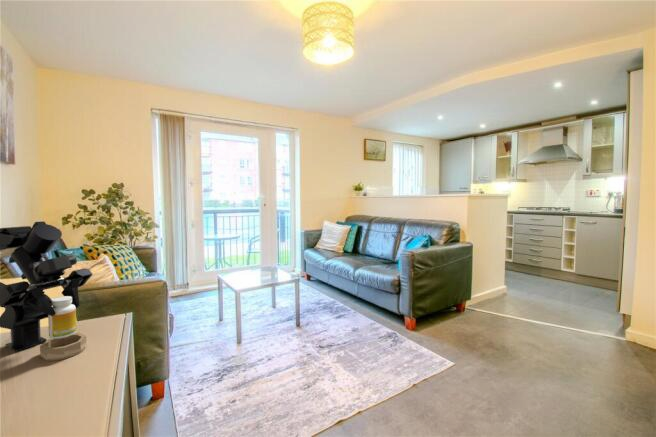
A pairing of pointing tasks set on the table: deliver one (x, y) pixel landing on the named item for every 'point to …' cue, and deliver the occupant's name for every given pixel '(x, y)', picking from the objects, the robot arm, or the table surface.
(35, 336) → the robot arm
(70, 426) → the table surface
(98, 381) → the table surface
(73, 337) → the can holder
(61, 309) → the supplement bottle
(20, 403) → the table surface
